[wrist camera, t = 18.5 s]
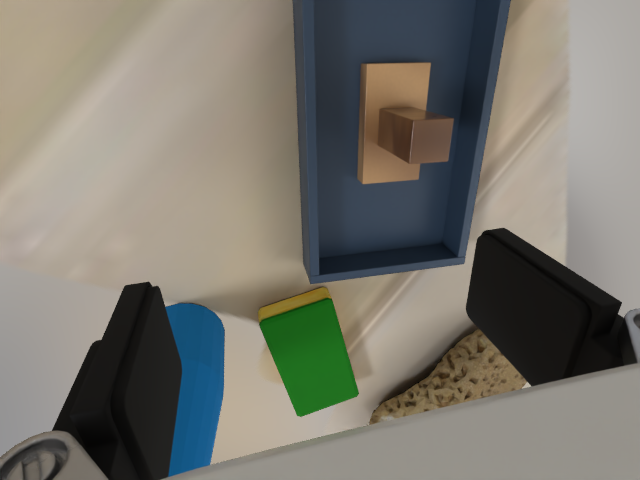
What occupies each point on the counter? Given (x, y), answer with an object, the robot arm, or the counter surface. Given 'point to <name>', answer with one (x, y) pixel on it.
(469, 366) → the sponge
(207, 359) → the bottle
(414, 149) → the two-tone wood block
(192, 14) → the counter surface
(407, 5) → the baking dish
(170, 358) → the robot arm
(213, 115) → the counter surface
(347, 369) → the dish sponge
